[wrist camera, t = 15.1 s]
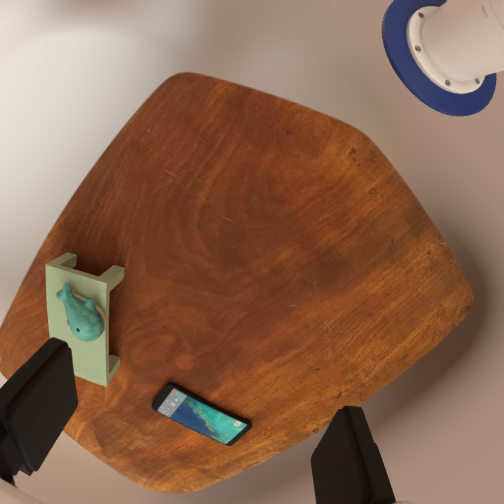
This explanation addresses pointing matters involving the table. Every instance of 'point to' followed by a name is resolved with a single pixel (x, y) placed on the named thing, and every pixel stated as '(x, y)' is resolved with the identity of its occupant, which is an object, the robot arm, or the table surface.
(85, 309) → the whale figurine
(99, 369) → the miniature table
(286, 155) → the table surface
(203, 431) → the smartphone
